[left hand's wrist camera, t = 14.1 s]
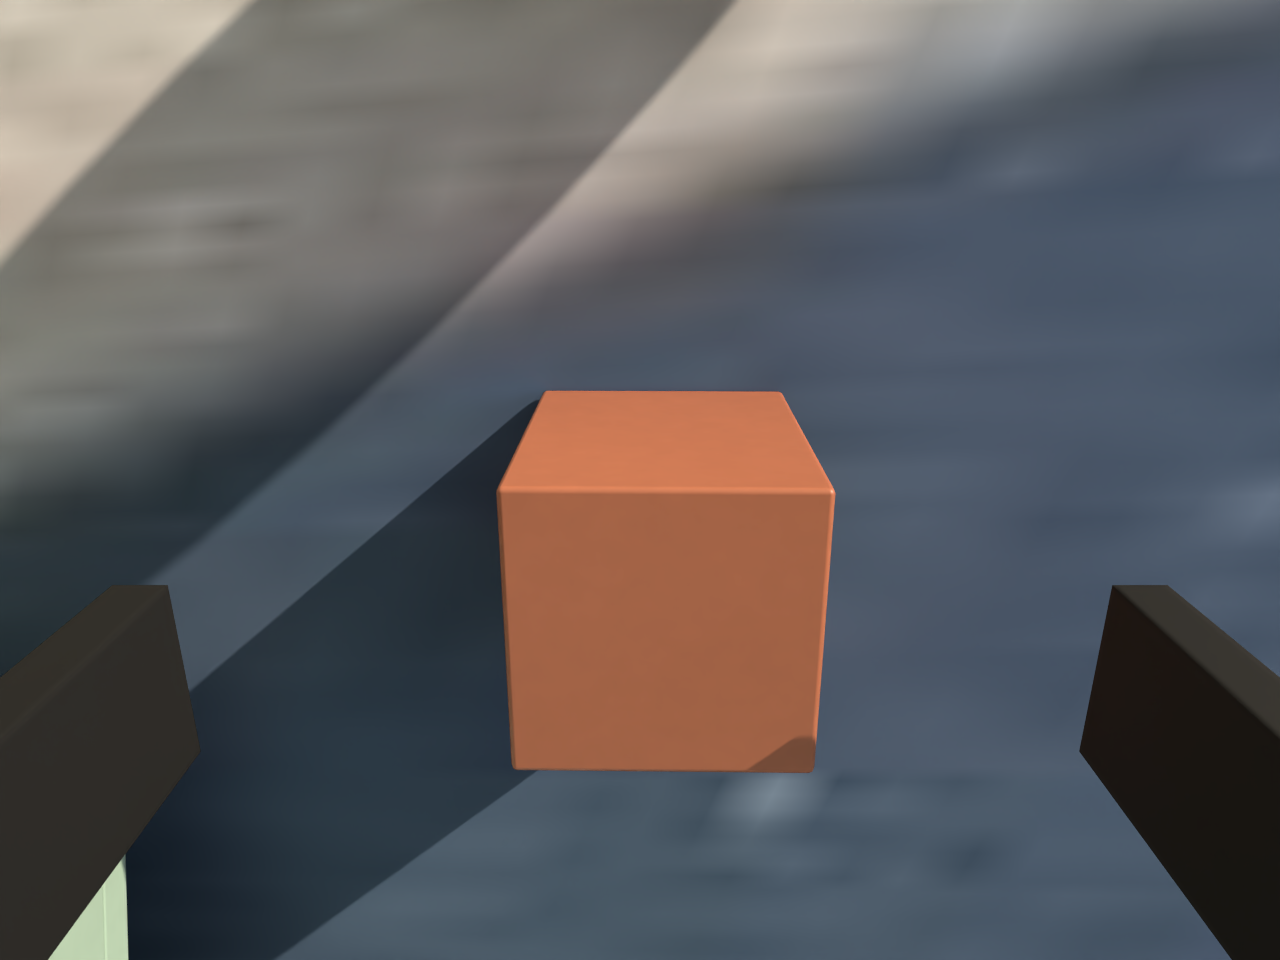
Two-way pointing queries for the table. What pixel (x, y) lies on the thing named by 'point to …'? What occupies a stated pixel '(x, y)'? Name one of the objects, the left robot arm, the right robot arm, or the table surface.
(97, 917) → the tray
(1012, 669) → the table surface
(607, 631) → the terracotta block
